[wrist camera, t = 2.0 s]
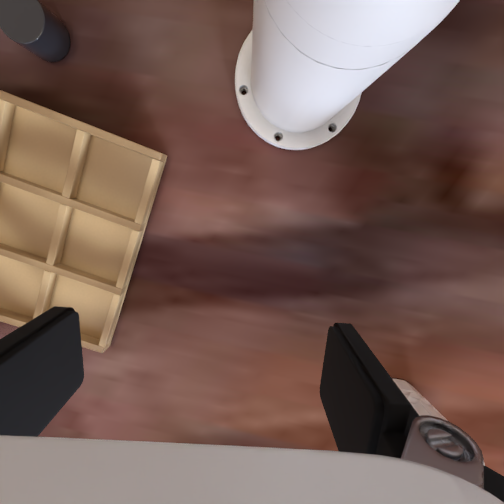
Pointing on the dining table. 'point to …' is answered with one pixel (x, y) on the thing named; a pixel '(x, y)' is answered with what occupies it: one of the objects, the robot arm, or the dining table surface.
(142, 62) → the dining table surface
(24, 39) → the metal cylinder
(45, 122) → the board
